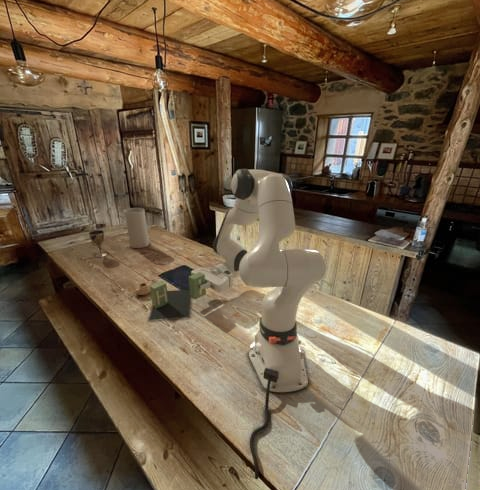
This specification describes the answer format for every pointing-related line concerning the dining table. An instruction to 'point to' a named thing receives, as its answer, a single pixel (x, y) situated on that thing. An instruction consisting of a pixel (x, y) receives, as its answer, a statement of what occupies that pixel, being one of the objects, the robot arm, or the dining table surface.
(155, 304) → the letter H
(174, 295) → the word mat
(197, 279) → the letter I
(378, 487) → the dining table surface
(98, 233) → the wine glass
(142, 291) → the pottery oil lamp
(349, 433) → the dining table surface
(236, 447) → the dining table surface
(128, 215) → the cylinder vase
